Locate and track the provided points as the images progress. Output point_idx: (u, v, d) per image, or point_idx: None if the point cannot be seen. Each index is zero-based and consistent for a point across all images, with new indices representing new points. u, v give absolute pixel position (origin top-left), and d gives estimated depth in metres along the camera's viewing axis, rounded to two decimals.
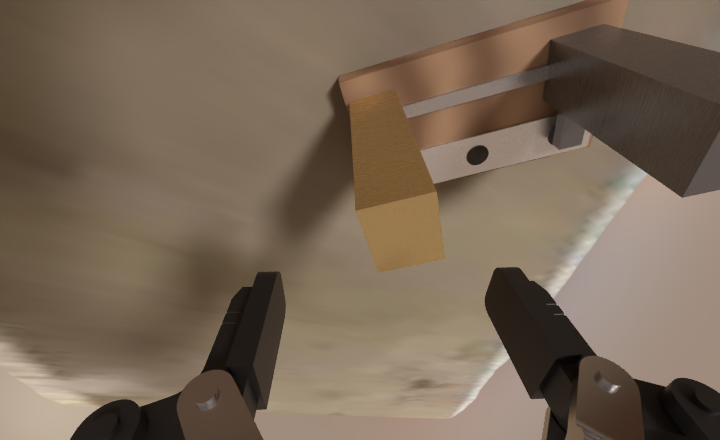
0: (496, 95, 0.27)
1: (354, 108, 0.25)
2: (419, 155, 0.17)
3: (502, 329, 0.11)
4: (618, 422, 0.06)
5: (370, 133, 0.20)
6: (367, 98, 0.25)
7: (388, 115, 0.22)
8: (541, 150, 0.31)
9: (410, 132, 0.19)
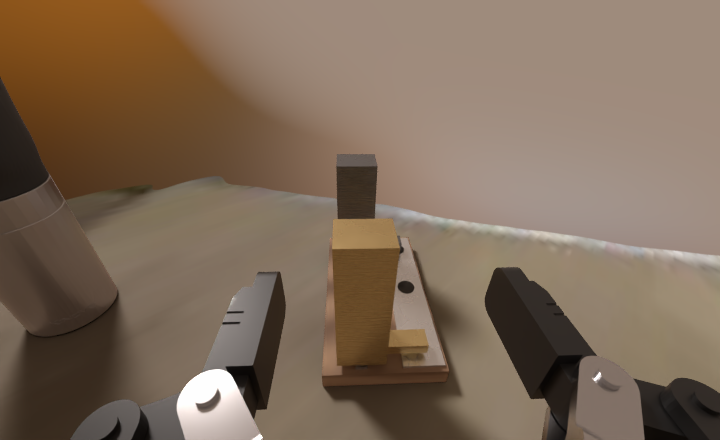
0: None
1: None
2: None
3: (502, 329, 0.11)
4: (618, 422, 0.06)
5: None
6: None
7: None
8: (407, 255, 0.45)
9: None
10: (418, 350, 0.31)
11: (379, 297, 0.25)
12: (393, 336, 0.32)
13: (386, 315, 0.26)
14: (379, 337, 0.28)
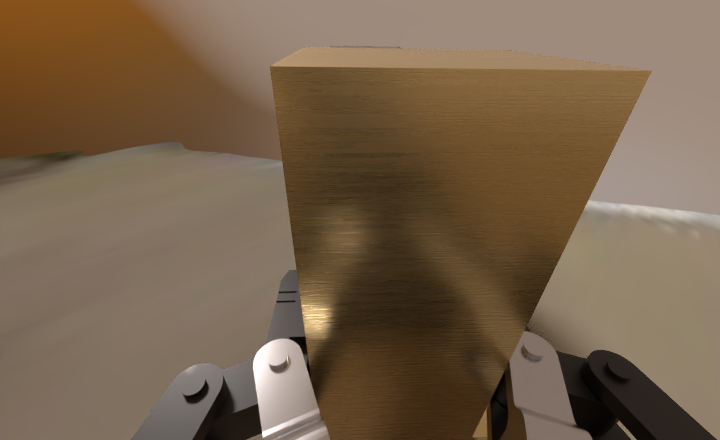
0: None
1: None
2: None
3: None
4: (546, 391, 0.07)
5: None
6: None
7: None
8: None
9: None
10: None
11: (472, 326, 0.07)
12: None
13: (481, 382, 0.08)
14: (447, 434, 0.10)
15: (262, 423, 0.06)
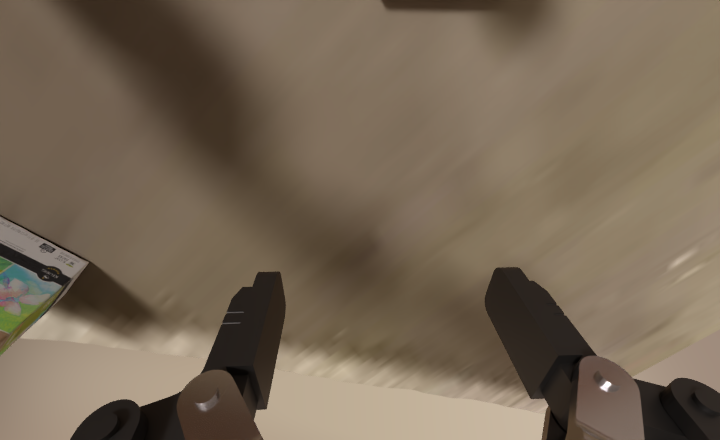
0: None
1: None
2: None
3: (502, 329, 0.11)
4: (617, 422, 0.06)
5: None
6: None
7: None
8: None
9: None
10: None
11: None
12: None
13: None
14: None
15: None
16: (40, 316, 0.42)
